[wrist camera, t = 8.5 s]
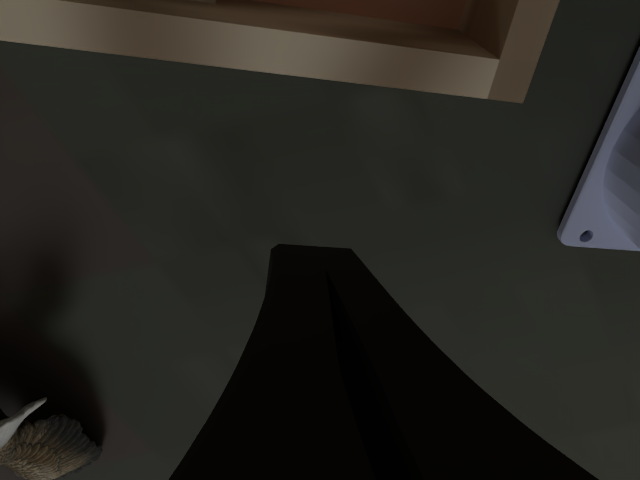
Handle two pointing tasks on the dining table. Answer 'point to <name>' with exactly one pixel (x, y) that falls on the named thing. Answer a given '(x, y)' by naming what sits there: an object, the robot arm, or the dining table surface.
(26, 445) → the eagle figurine
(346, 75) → the frame
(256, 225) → the dining table surface
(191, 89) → the dining table surface
